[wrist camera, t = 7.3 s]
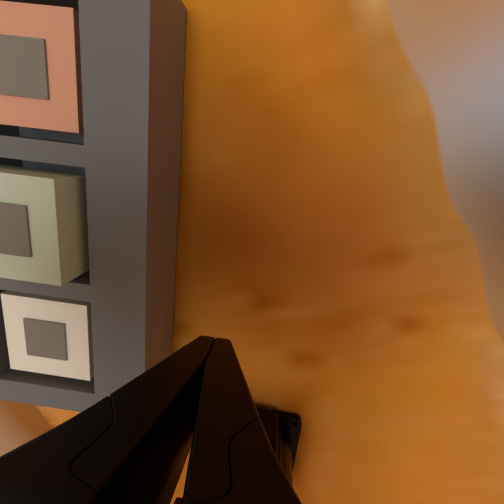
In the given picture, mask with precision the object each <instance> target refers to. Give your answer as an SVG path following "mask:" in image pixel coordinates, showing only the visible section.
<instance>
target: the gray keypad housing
mask: <svg viewBox="0 0 504 504" xmlns="http://www.w3.org/2000/svg"><path fill="white" fill-rule="evenodd" d="M0 1H10V2H20V3H30V4H40V5H50V6H60V7H70V8H74V9H75V10H77V11H78V12H79V31H80V55H81V79H82V103H83V127H84V134H77V133H68V132H60V131H51V130H43V129H34V128H26V127H18V126H10V125H2V124H0V164H3V165H11V166H19V167H27V168H35V169H43V170H51V171H60V172H68V173H76V174H84V175H86V199H87V223H88V247H89V270H88V271H86V272H85V273H83V274H81V275H80V276H78V277H76V278H74V279H73V280H71V281H69V282H68V283H66V284H64V285H62V286H57V285H50V284H43V283H36V282H29V281H21V280H14V279H7V278H0V399H3V400H9V401H15V402H22V403H28V404H34V405H40V406H46V407H53V408H59V409H65V410H72V411H78V412H82V411H84V410H85V409H87V408H89V407H90V406H92V405H94V404H95V403H97V402H98V401H100V400H101V399H103V398H105V397H106V396H110V394H111V393H112V392H114V391H116V390H117V389H119V388H120V387H122V386H123V385H125V384H126V383H128V382H130V381H131V380H133V379H134V378H136V377H137V376H139V375H140V374H142V373H144V372H145V371H147V370H148V369H150V368H151V367H153V366H154V365H156V364H158V363H159V362H161V361H162V360H164V359H165V358H167V357H168V356H170V355H172V339H173V316H174V293H175V271H176V248H177V225H178V203H179V180H180V157H181V135H182V112H183V90H184V67H185V44H186V22H187V9H186V7H185V6H184V4H183V2H182V1H181V0H0ZM7 290H8V291H15V292H22V293H29V294H36V295H43V296H50V297H57V298H64V299H71V300H78V301H85V302H91V318H92V342H93V366H94V377H93V378H92V379H91V381H87V380H81V379H74V378H68V377H61V376H55V375H48V374H42V373H36V372H29V371H23V370H16V369H11V368H10V361H9V354H8V346H7V339H6V331H5V324H4V316H3V309H2V301H1V293H3V292H5V291H7Z"/></svg>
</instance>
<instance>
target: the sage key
mask: <svg viewBox="0 0 504 504" xmlns="http://www.w3.org/2000/svg"><path fill="white" fill-rule="evenodd" d="M88 270H89V247H88V223H87V199H86V175H84V174H76V173H68V172H60V171H51V170H43V169H35V168H27V167H19V166H11V165H3V164H0V278H7V279H14V280H21V281H29V282H36V283H43V284H50V285H57V286H62V285H64V284H66V283H68V282H69V281H71V280H73V279H74V278H76V277H78V276H80V275H81V274H83V273H85V272H86V271H88Z"/></svg>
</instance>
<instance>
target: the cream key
mask: <svg viewBox="0 0 504 504" xmlns="http://www.w3.org/2000/svg"><path fill="white" fill-rule="evenodd" d="M1 301H2V309H3V316H4V324H5V331H6V339H7V346H8V354H9V361H10V368H11V369H16V370H23V371H29V372H36V373H42V374H48V375H55V376H61V377H68V378H74V379H81V380H87V381H91V379H92V378H93V377H94V366H93V342H92V318H91V302H85V301H78V300H71V299H64V298H57V297H50V296H43V295H36V294H29V293H22V292H15V291H8V290H7V291H5V292H3V293H1Z"/></svg>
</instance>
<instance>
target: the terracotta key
mask: <svg viewBox="0 0 504 504" xmlns="http://www.w3.org/2000/svg"><path fill="white" fill-rule="evenodd" d="M0 124H2V125H10V126H18V127H26V128H34V129H43V130H51V131H60V132H68V133H77V134H84V127H83V103H82V79H81V55H80V31H79V12H78V11H77V10H75V9H74V8H70V7H60V6H50V5H40V4H30V3H20V2H10V1H0Z"/></svg>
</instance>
